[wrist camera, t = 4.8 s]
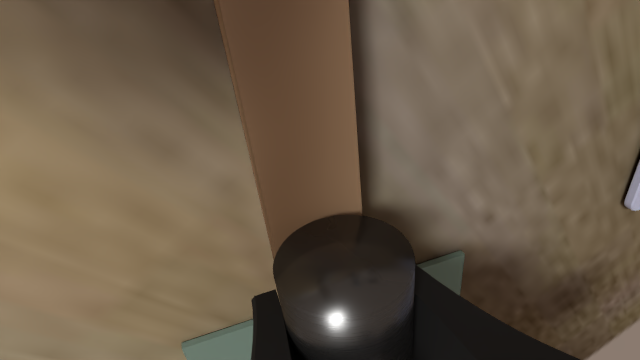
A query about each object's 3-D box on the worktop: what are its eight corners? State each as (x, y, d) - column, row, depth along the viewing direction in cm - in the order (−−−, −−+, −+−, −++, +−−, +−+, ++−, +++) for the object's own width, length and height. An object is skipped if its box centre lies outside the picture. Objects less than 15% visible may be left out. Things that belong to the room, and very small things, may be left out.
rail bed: (312, -128, 8) (339, -141, 7) (348, 246, 14) (366, 278, 13) (186, -116, 8) (190, -126, 7) (275, 269, 14) (287, 304, 12)
